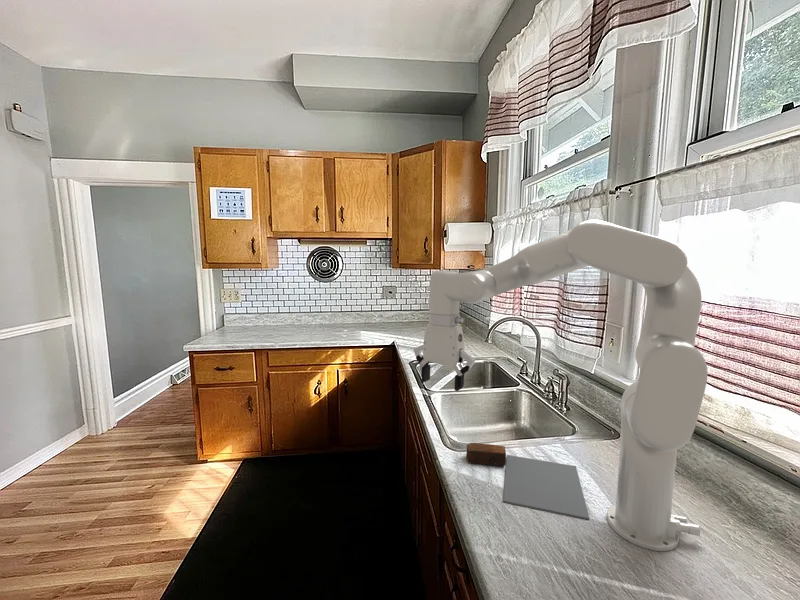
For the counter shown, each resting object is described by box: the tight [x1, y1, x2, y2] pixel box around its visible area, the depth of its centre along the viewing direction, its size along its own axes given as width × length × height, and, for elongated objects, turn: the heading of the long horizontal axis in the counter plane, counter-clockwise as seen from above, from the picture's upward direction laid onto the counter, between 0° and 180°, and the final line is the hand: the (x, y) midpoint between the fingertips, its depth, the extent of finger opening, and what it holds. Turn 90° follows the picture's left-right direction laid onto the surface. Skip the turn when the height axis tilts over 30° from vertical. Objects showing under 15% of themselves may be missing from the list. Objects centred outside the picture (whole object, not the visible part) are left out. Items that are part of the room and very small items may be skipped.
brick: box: [465, 442, 507, 467], centre depth 101 cm, size 11×4×5 cm
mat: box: [502, 454, 590, 521], centre depth 91 cm, size 18×21×1 cm
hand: (441, 385), depth 93 cm, fingers open, 9 cm apart
